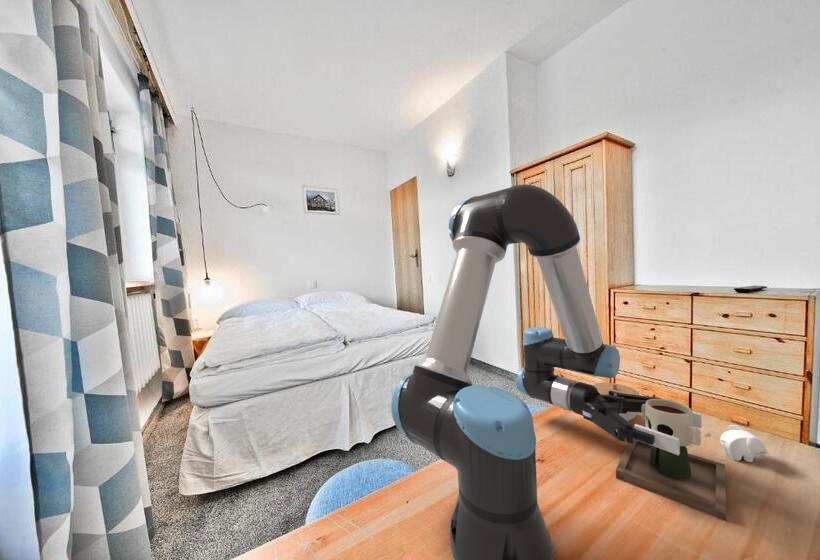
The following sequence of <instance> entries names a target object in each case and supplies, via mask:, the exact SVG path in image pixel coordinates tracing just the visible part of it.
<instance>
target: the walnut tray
mask: <svg viewBox="0 0 820 560" xmlns="http://www.w3.org/2000/svg"><path fill="white" fill-rule="evenodd" d="M651 446H652V445H649V444H647V443H644V442H641V441H639V440H636V439H634V438H633V443H628V442H627V445H626V447H625V449H624V451H623V454H622V456H621V457H620V459H619V462H618V464H617V466H616V469H615V478H616V479H617V480H620V481H622V482H625V483H629V484H630V485H632V486H635V487H638V488H640V489H643V490H646V491H648V492H651V493H653V494H656V495H659V496H661V497H663V498H666V499H669V500H671V501H674V502H677V503H678V504H682V505H683V506H687V507H688V508H691V509H695V510H697V511H700V512H702V513H705V514H706V515H710V516H712V517H715V518H718V519H720V520H723V521H725V522H727V501H726V500H727V499H726V497H727V495H726V464H725V463H721V462H717V461H715V460H712V459H709V458H705V457H701V456H697V455H695V454H690V453H688V457H689V461H690V468H691V475H690V476H688V477H684V478H675V477H670V476H667V475H665V474H662V473H660V472H659V466H658V465H657V464H656V463H655V469H654V468H653V467H652V466H651V464H650V454H651Z"/></svg>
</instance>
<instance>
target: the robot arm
mask: <svg viewBox="0 0 820 560" xmlns="http://www.w3.org/2000/svg"><path fill="white" fill-rule="evenodd" d="M448 220H449V222H448V230H450V232H449V238H450V239H451V242H452V247H453V249H454V252H456V255H455V258H454V262H453V265H452V268H451V271H450V275H449V278H448V281H447V285H446V287H445V288H446V289H445V292H444V294H443V297H442V302H441V305H440V308H439V311H438V314H437V318H436V322H435V325H434V328H433V331H432V333H431V338H430V341H429V344H428V347H427V351H426V354H425V357H424V358H423V359H422V360H420V361H418V362H416V363H415V364H414V368H413V371H412V373H411V374H410V373H409V374H407V375H406V376H404V377H403V380H400V381H399V382H398V383H397V384H396V387H395V388H394V391H393V394H392V397H391V404H390V405H391V408H390V409H391V415H392V416H391V417H392V420H393V423H394V424H395V426H396V428H397V429H398V431H399V432H400V433H401V434H402V435H404V436H406V438H407V439H408V440H409V441H411V442H412V443H413V444H416V445H418V446H421V448H423V449H425V450H426V451H429V453H431V454H433V455H435V456H436V457H438V458H439V459H441V460H443V461H444V462H446V463H448V464H449V465H450V466H452V467H454V468H455V469H456V471H457V480H458V482H457V483H458V495H457V499H456V503H455V506H454V509H453V513H452V517H451V520H450V526H449V535H450V539H449V540H450V549H451V554H452V556H453V557H452V558H453V559H455V560H554V553H553V542H552V539H551V535H550V533H549V531H548V528H547V526H546V522H545V519H544V517H543V514H542V512H541V509H540V506H539V504H538V481H537V459H536V457H537V456H536V455H537V454H536V447H537V437H536V433H535V426H534V420H533V419H534V418H533V416H532V412H531V411H530V409H529V407H528V405H527V404H526V403H525V402H524V401H523V400H522V399H521V398H520V397H518V396H517V395H516V394H514V393H512V392H510V391H508V390H506V389H504V388H501V387H496V386H492V385H490V386H485V385H473V381H472V379H471V377H470V376H469V374H468V370H469V366H470V362H471V358H472V354H473V351H474V350H473V349H474V347H475V343H476V339H477V335H478V331H479V327H480V323H481V319H482V316H483V312H484V309H485V304H486V300H487V297H488V293H489V289H490V285H491V283H492V277H493V274H494V270H495V265H496V264H497V263H499V262H500V261H502V260H503V259H504V258H505V256H506V254H507V253H506V252H507V249H508V246H509V245H512V244H514V245H515V244H519V243H520V244H521V243H522V244H525V245H526V247H527V250H528V252H529V254H530V255H531V256H532V257H534V258H536V259H537V262H538V265H539V268H540V271H541V273H542V277H543V279H544V282H545V285H546V289H547V291H548V295H549V297H550V300H551V303H552V306H553V308H554V311H555V314H556V317H557V320H558V323H559V324H558V325H559V326H560V329H561V332H562V335H563V338H561V337H560V338H558V337H554V334H553V330H552V329H550V328H547V327H543V326H533V327H531V326H530V327H528V328H526V329H524V330H523V333H522V334H523V336H522V337H523V339H522V346H523V347H522V348H523V359H524V363H523V364H524V366H523V367H521V368H520V369H519V370H517V373H516V378H515V386H516V389H517V390H518V391H519V392H520V393H521V394H523V395H526V396H528V397H530V398H531V399H534V400H535V399H536V400H538V401H542V402H545V403H548V404H550V405H553V406H555V407H558V408H561V409H562V410H564V411H569V412H573V413H574V414H576V415H579V416H582V417H583V420H584V419H585V420H586V421H589V422H591V423H593V424H595V426H597V427H599V428H600V429H602V430H603V431H605V432H606V433H608V434H609V435H610V436H612V437H614V438H615V439H617V440H618V441H620V442H626V443H627V444H628V443H633V438H634V439H636V440H639V441H641V442H644V443H647V444H649V445H652V446H655V447H657V448H660V449H663V450H665V451H668V452H671V453H673V454H676V455H679V454H680V439H679V438H676V437H673V436H670V435H667V434H664V433H661V432H658V431H655V430H652V429H649V428H646V427H645V426H644V425H643V426H642V425H639V424H638V423H635V424H634V425H632V424H631V423H630V422H627V421H626V420H625V419H624V418H622V417H621V416H620V415H619V414H620V413H622V414H626V413H627V412H637V413H641V414H642V410H641V406H642V404H645V403H646V401H647V400H649V399H662V398H661V397H655V396H649V395H648V396H646V395H640V394H639V395H633V394H625V393H618V392H614V391H609V395H601V394H600V393H599V392H598V390H597V388H596V387H595V386H593V385H594V384H589V383H587V382H581V381H577V380H576V379H573V378H572V379H571V378H567V377H565V376H559V375H557V374H555V368H558V369H562V370H567V371H571V372H576V373H579V374H585V375H589V376H592V377H599V378H606V379H613V378H614V379H615V377H616V376H617V375H618V373H619V371H620V366H621V365H620V364H621V355H620V352H619V350H618V348H617V347H616V346H614V345H610V344H608V343H606V344H605V343H604V340H603V337H602V333H601V330H600V327H599V324H598V319H597V316H596V311H595V309H594V305H593V301H592V299H591V295H590V291H589V288H588V284H587V280H586V279H587V278H586V276H585V272H584V270H583V265H582V262H581V258H580V254H579V251H578V247H577V246H578V245H579V243H580V242H581V236H580V232H579V229H578V226H577V223H576V221H575V218H574V217H573V215H572V214H571V212H570V211H569V210H568V208H567V207H566V206H565V204H564V203H563V202H562V201H561V200H560V199H558V198H557V197H556V196H555V195H554V194H552V193H551V192H550V191H548V190H546V189H544V188H543V187H539V186H536V185H534V184H533V185H532V184H526V183H525V184H523V183H522V184H517V185H513V186H510V187H508V188H503V189H500V190H499V189H498V190H497V191H492V192H489V193H486V194H482V195H475V196H472V197H469V198H468V199H465V200H463V201H461V202H460V203H458V204H457V205H456V206H455V208H453V211H452V212H451V214H450V216H449V219H448ZM692 412H693V426H695V427H697V428H698V429H702V428H703V420H702V419H703V417H702V413H699V412H695V411H692Z"/></svg>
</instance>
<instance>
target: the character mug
mask: <svg viewBox="0 0 820 560" xmlns="http://www.w3.org/2000/svg"><path fill="white" fill-rule="evenodd" d="M641 410H642V413H641V418H642V419H643V420H645V421H644V422H645V423H644V425H645V426H644V427H646V428H649V429H652V430H655V431H658V432H661V433H664V434H667V435H670V436H673V437H676V438H679V439H680V454H679V455H676V454H673V453H671V452H668V451H665V450H663V449H660V448H657V447H655V446H651V454H650V464H651V466H652V467H653V468H654V469H655V463H656V464H657V465H658V466H659V472H660V473H662V474H665V475H667V476H670V477H675V478H684V477H688V476H690V475H691V468H690V461H689V457H688V454H689V453H688V448H687V447H688V446H691V445H694V446H700V445H701V443H702V442H701V441H702V438H701V437H702V436H701V428H698V427H695V426H693V412H694V411H693V409H691V408H690V407H689V406H687V405H686V404H684V403H680V402H678V401H676V400H675V401H674V400H672V399H671V400H670V399H666V398H661V399H649V400H647V401H646V403H645V404H642V406H641Z"/></svg>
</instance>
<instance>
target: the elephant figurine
mask: <svg viewBox="0 0 820 560" xmlns="http://www.w3.org/2000/svg"><path fill="white" fill-rule="evenodd" d="M716 439H717V440H719V442H720V444H721V448H722V449H723V451H724V452H725V454H726V455H727V456H729V457H730V459H732V460H734V461H741V460H742V458H743V460H744V461H745V462H747V463H753V461H754V458H755V456H758V457H760V458H761V457H763V456H766V455H769V452H768V449H767V448H766V446H765V444H764V442H763V441H762V440H761V439H760V438H759V437H757V436H755V435H754V434H753V433H751V432H749V431H746V430H745V429H744V428H743V427H742V426H740V425H737V424H730V425H728V426H727V427H726V431H724V432H723V433H722V434H721V435H720V438H718V437H717V438H716Z"/></svg>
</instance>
